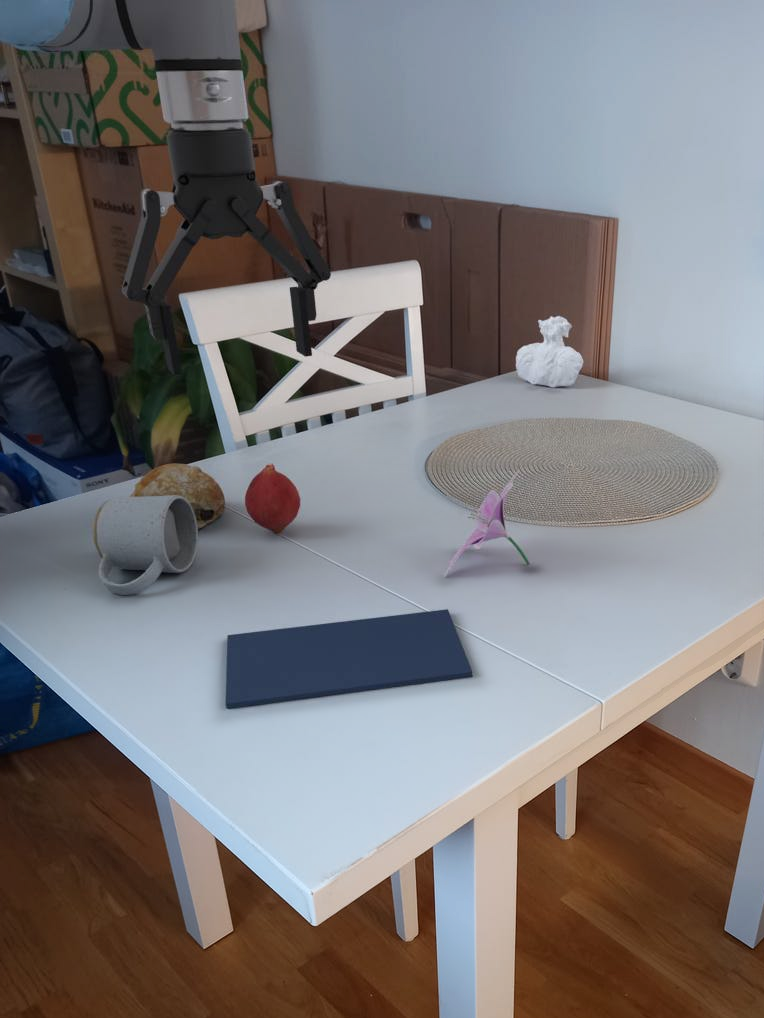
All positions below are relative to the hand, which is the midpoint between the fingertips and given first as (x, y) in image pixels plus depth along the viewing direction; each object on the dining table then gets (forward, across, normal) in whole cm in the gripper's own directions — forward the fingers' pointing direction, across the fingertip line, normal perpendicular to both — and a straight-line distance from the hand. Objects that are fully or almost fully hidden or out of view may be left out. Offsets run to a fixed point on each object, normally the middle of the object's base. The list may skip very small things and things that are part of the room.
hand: (241, 362), depth 95 cm
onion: (+18, 0, -3) cm, 18 cm away
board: (+18, -3, -31) cm, 36 cm away
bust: (+18, +59, +32) cm, 69 cm away
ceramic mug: (+18, -14, -6) cm, 24 cm away
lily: (+18, +17, -22) cm, 33 cm away
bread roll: (+18, -8, +7) cm, 21 cm away
